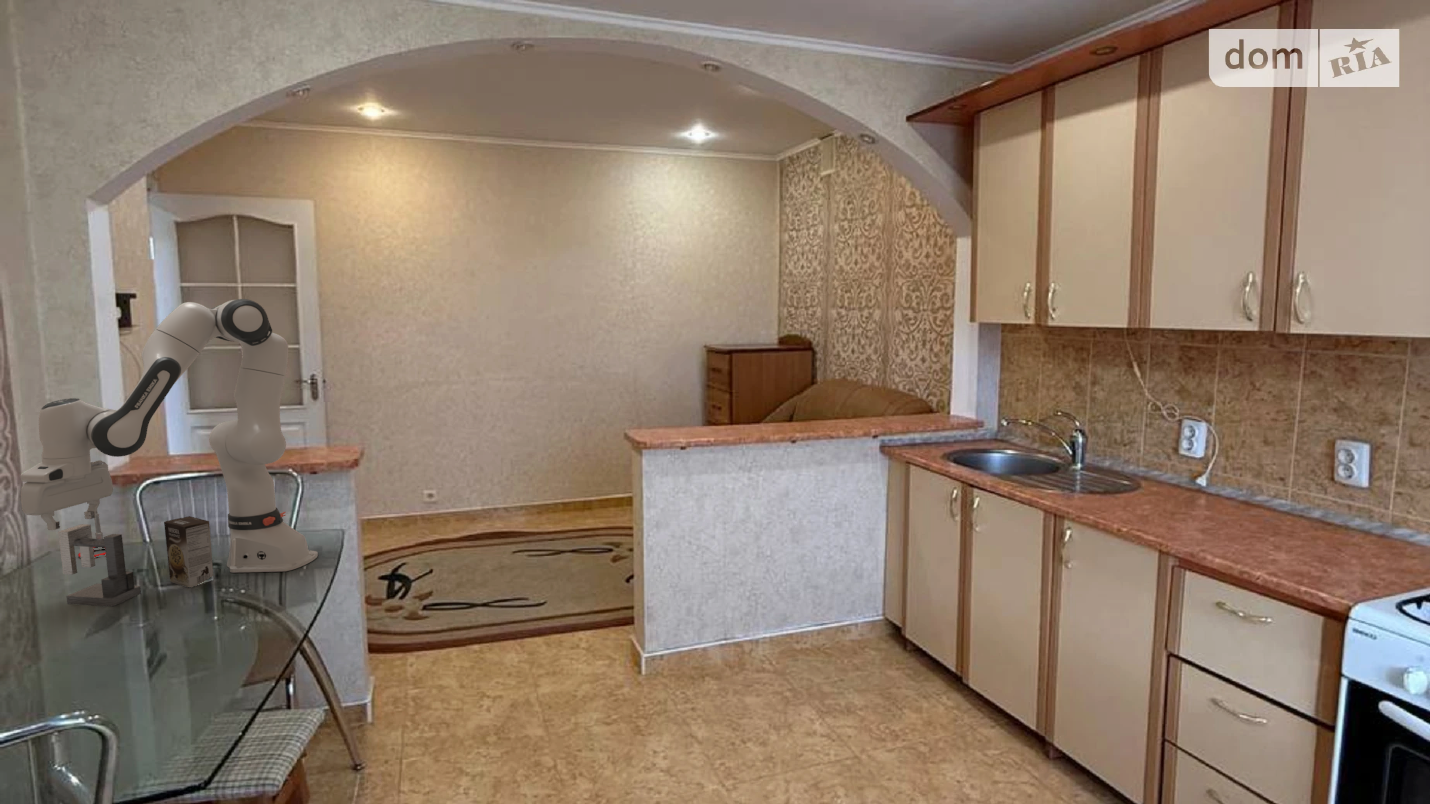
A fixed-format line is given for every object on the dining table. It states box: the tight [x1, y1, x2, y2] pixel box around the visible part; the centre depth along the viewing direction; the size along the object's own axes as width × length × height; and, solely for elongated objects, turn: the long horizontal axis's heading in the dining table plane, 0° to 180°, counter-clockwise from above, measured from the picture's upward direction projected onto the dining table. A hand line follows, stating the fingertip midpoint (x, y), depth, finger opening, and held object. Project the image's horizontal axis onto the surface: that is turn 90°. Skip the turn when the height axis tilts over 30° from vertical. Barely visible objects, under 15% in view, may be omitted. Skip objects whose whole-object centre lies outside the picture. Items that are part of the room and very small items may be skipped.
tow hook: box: [77, 509, 106, 558], centre depth 218 cm, size 8×13×9 cm
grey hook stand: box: [66, 533, 142, 607], centre depth 187 cm, size 15×8×16 cm, turn 83°
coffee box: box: [163, 515, 214, 588], centre depth 198 cm, size 9×6×16 cm
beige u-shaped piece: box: [57, 523, 96, 575], centre depth 186 cm, size 2×6×10 cm, turn 173°
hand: (72, 523), depth 185 cm, fingers open, 8 cm apart
